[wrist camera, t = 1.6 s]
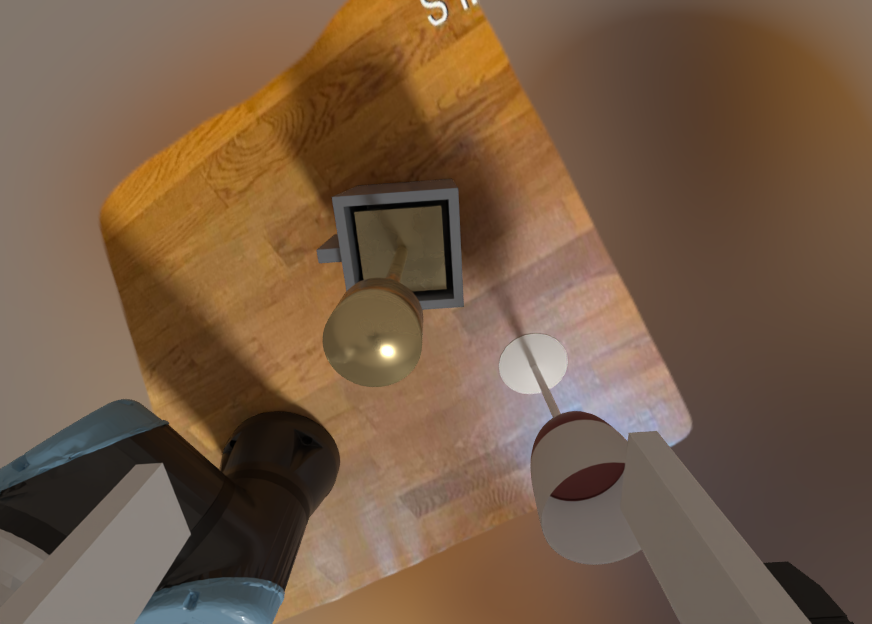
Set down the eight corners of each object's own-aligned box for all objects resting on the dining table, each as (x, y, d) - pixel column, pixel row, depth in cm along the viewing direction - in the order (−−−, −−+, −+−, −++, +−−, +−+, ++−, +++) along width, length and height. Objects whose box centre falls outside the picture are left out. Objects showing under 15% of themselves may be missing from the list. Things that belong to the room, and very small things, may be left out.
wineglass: (495, 399, 53) (537, 566, 32) (498, 329, 50) (546, 464, 28) (566, 397, 53) (654, 563, 32) (573, 327, 50) (679, 460, 28)
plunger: (367, 291, 37) (306, 416, 20) (355, 210, 34) (275, 271, 17) (446, 286, 37) (457, 407, 19) (441, 204, 34) (448, 259, 17)
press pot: (349, 277, 47) (323, 316, 36) (335, 187, 44) (301, 199, 32) (456, 269, 47) (463, 306, 36) (451, 178, 43) (458, 187, 32)
